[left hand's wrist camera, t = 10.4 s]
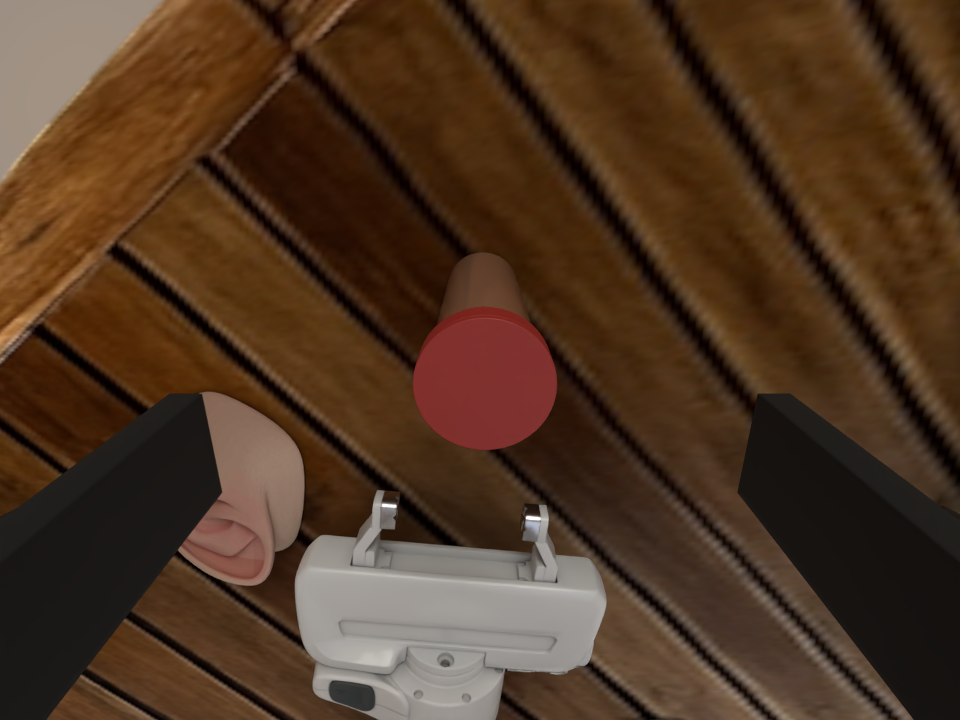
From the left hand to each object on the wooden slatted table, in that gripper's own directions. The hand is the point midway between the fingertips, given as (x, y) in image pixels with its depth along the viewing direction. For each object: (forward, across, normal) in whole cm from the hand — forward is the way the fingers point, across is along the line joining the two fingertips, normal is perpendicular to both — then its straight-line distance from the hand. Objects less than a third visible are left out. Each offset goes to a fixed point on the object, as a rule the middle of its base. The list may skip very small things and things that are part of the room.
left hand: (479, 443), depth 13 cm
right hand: (+17, +1, +14) cm, 22 cm away
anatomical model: (+23, +18, +16) cm, 33 cm away
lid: (+7, 0, +1) cm, 7 cm away
